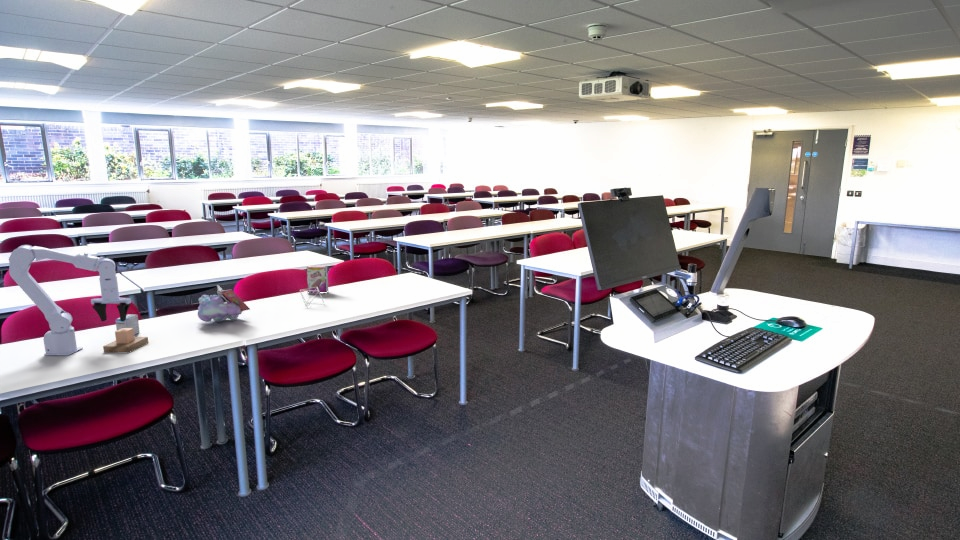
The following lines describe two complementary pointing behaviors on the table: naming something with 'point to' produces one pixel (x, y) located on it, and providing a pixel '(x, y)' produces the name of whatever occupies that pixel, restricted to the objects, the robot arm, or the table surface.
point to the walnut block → (125, 345)
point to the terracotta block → (124, 335)
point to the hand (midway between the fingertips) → (113, 320)
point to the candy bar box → (317, 278)
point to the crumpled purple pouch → (221, 306)
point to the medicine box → (128, 323)
